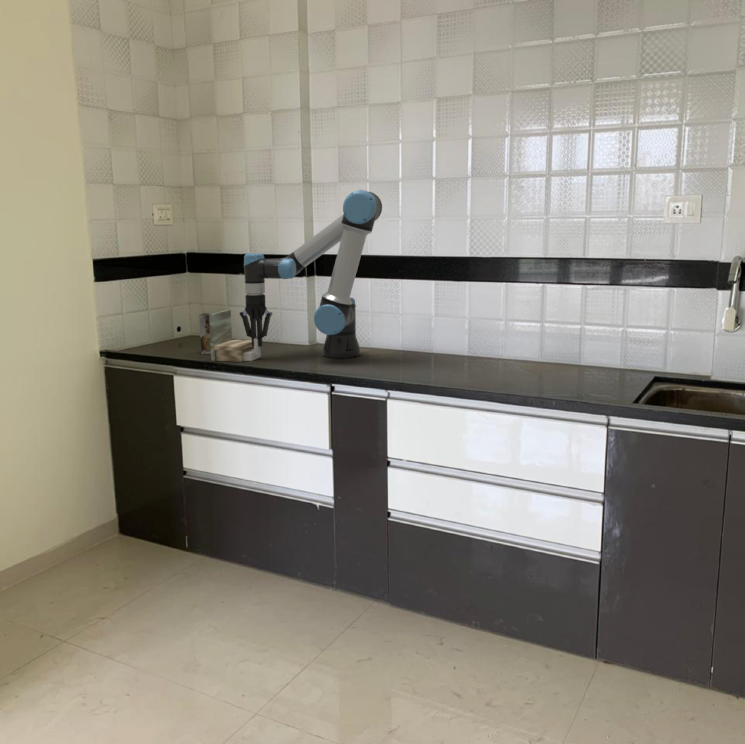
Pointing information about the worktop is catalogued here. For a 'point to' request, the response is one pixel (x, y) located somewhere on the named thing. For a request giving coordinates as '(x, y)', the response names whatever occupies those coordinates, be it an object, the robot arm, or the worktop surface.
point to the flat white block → (249, 355)
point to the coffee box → (205, 333)
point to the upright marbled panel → (225, 339)
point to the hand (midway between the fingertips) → (257, 354)
